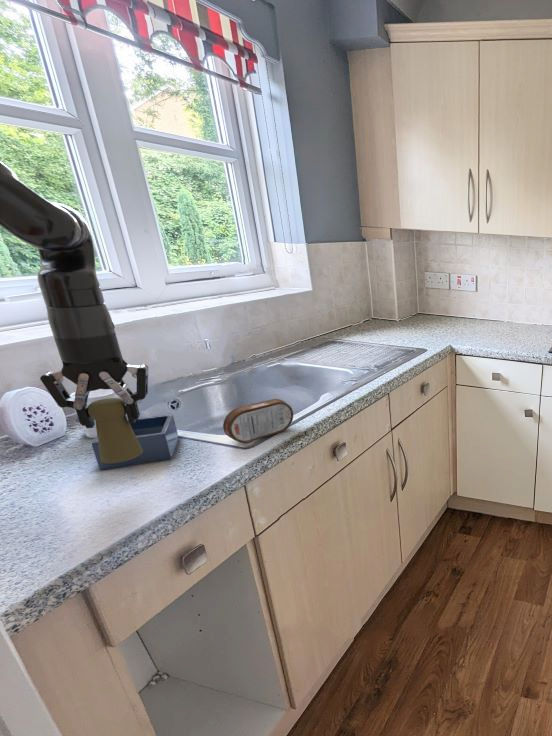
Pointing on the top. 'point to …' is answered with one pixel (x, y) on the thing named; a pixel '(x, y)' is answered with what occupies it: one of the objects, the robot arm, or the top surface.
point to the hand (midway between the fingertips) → (112, 423)
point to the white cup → (91, 398)
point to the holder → (148, 441)
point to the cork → (114, 431)
